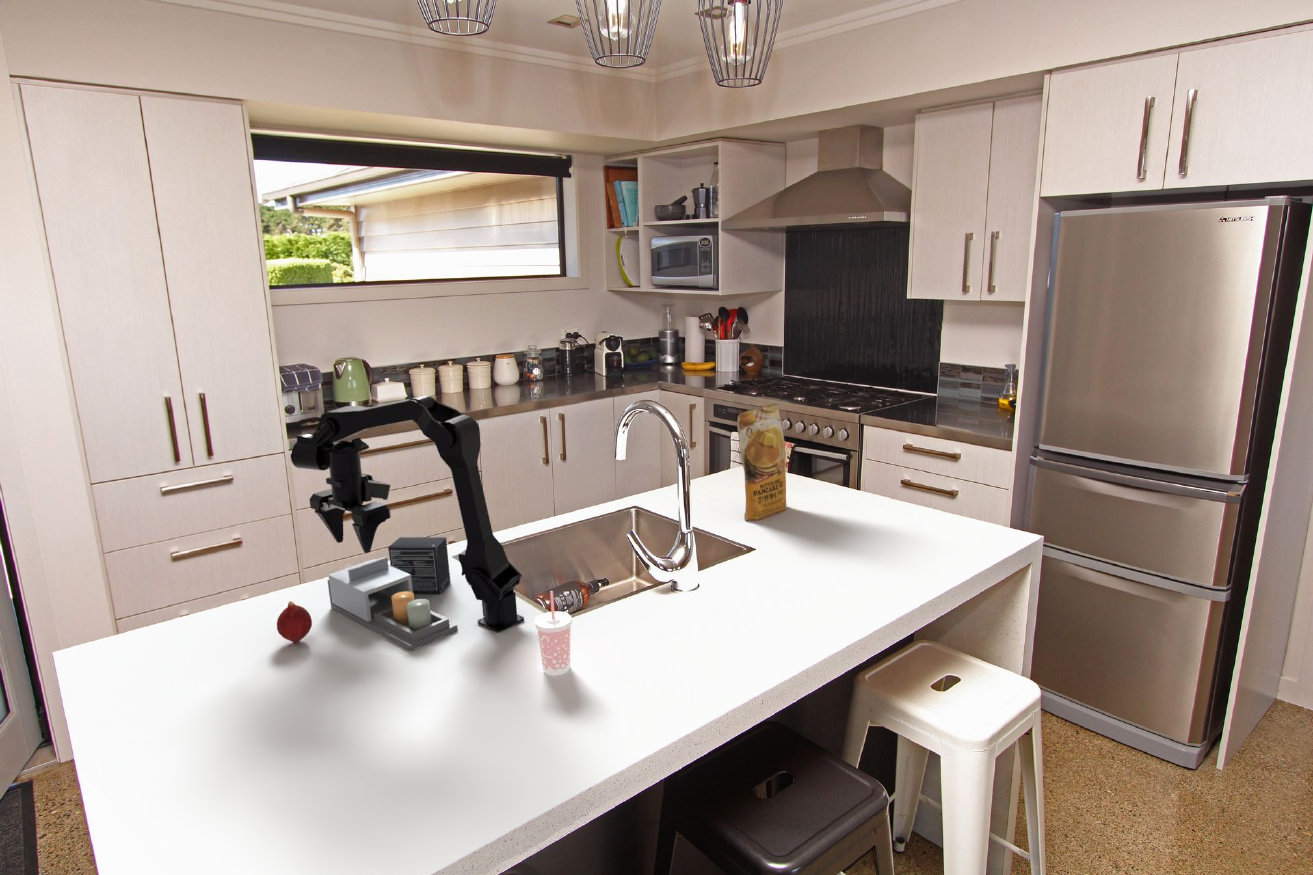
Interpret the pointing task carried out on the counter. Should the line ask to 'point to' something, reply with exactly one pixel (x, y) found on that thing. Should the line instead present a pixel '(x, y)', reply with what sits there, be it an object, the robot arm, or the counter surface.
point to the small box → (422, 562)
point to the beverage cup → (554, 640)
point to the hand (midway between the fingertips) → (353, 547)
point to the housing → (410, 636)
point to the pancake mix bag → (763, 461)
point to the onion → (294, 622)
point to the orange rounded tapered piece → (401, 606)
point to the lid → (366, 585)
